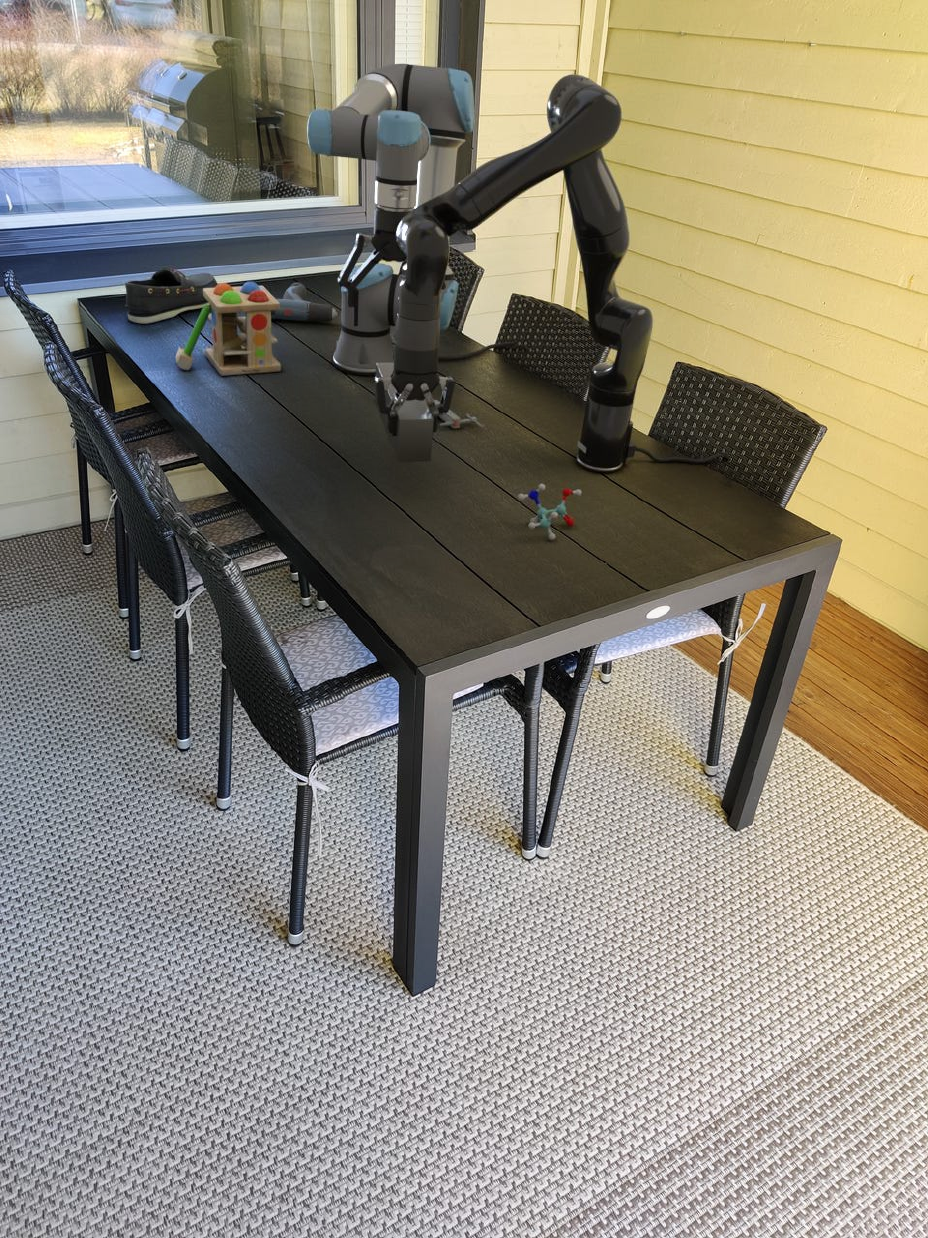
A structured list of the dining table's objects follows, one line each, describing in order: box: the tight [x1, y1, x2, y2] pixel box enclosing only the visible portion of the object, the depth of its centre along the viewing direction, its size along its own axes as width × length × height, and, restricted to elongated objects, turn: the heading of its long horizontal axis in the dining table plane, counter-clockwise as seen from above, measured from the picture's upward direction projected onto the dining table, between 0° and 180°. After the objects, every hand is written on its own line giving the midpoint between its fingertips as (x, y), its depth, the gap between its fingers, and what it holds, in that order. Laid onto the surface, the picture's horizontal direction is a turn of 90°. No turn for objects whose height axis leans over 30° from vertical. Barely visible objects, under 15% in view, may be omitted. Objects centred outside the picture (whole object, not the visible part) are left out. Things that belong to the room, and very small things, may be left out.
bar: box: [374, 363, 434, 463], centre depth 182 cm, size 27×6×8 cm, turn 13°
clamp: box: [425, 399, 486, 430], centre depth 213 cm, size 15×2×10 cm
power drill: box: [271, 282, 338, 322], centre depth 265 cm, size 5×19×20 cm
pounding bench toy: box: [174, 281, 282, 377], centre depth 225 cm, size 23×14×18 cm, turn 116°
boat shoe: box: [124, 266, 218, 324], centre depth 259 cm, size 13×33×10 cm, turn 147°
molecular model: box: [517, 483, 582, 541], centre depth 175 cm, size 12×10×10 cm
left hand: (390, 324), depth 189 cm, fingers open, 13 cm apart
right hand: (412, 433), depth 174 cm, fingers closed on bar, 6 cm apart
